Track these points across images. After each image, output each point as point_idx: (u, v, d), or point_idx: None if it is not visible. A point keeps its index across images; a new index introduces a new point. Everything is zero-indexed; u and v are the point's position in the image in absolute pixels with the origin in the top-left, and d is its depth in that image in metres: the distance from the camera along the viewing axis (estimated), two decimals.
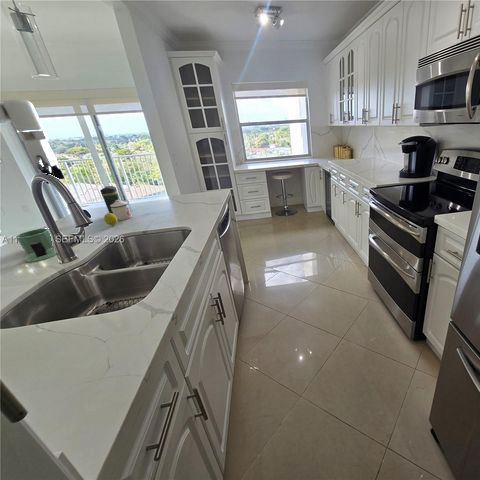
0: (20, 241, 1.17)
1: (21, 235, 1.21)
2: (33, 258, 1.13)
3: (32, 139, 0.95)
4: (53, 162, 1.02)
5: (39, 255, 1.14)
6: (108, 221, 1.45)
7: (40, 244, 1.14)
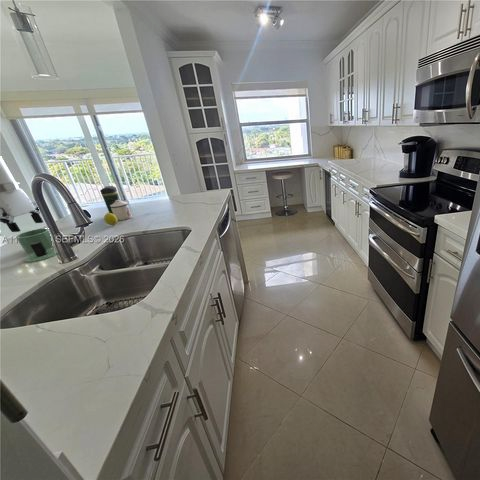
0: (20, 241, 1.17)
1: (21, 235, 1.21)
2: (33, 258, 1.13)
3: None
4: (21, 211, 1.06)
5: (39, 255, 1.14)
6: (108, 221, 1.45)
7: (40, 244, 1.14)
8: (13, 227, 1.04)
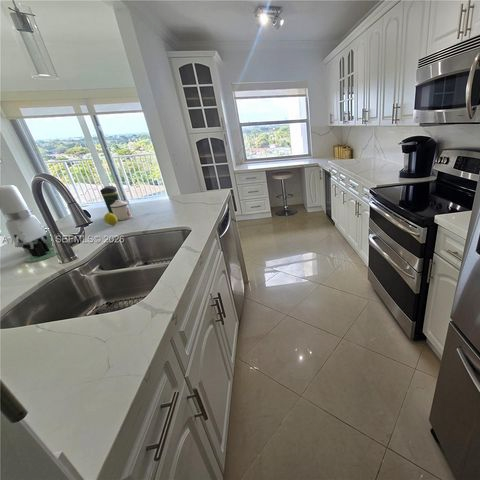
0: None
1: None
2: (33, 258, 1.13)
3: (11, 220, 1.05)
4: (33, 237, 1.11)
5: None
6: (108, 221, 1.45)
7: (40, 244, 1.14)
8: (34, 252, 1.12)
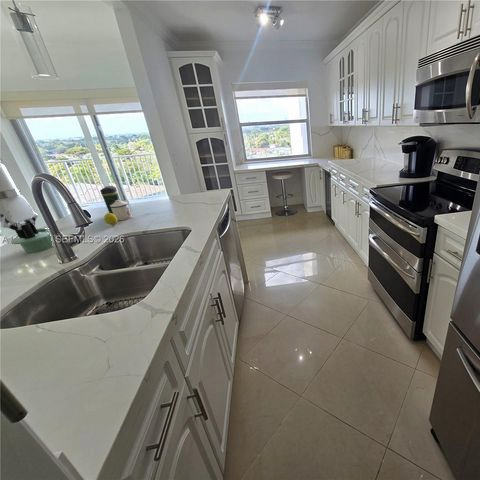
0: None
1: None
2: (20, 240, 1.09)
3: None
4: (21, 218, 1.07)
5: None
6: (108, 221, 1.45)
7: (28, 226, 1.10)
8: (21, 234, 1.08)
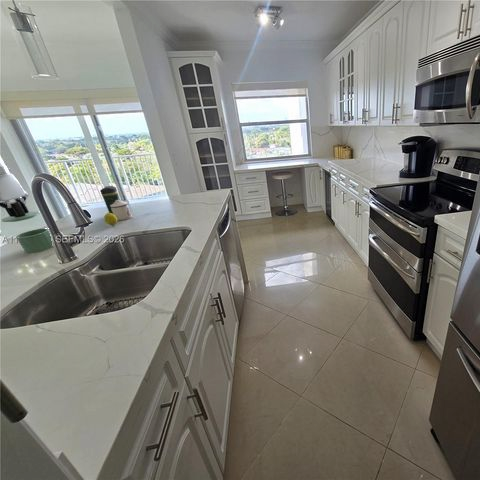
0: (20, 241, 1.17)
1: (21, 235, 1.21)
2: (11, 218, 1.09)
3: None
4: (10, 196, 1.08)
5: (17, 216, 1.11)
6: (108, 221, 1.45)
7: (18, 204, 1.10)
8: (11, 212, 1.09)
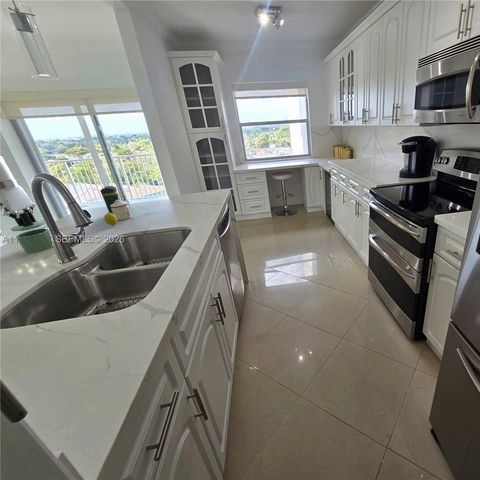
0: (20, 241, 1.17)
1: (21, 235, 1.21)
2: (20, 227, 1.17)
3: None
4: (19, 207, 1.15)
5: None
6: (108, 221, 1.45)
7: (26, 214, 1.17)
8: (20, 221, 1.16)
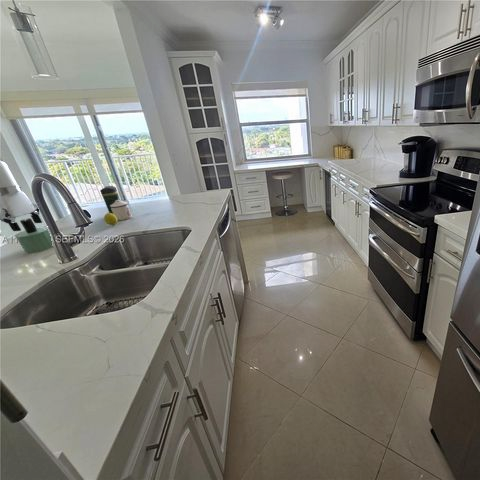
0: (20, 241, 1.17)
1: None
2: (23, 234, 1.18)
3: (0, 195, 1.09)
4: (22, 212, 1.16)
5: (29, 231, 1.19)
6: (108, 221, 1.45)
7: (30, 221, 1.19)
8: (14, 227, 1.14)
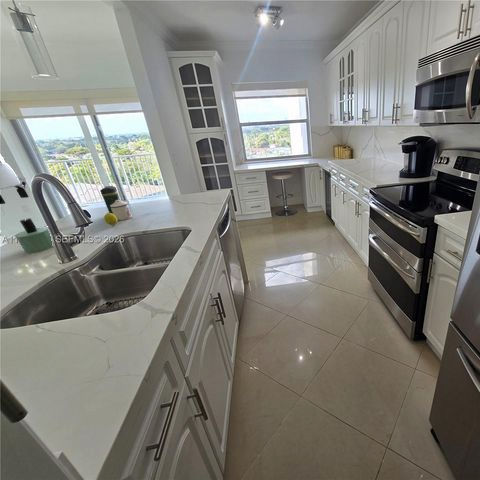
0: (20, 241, 1.17)
1: None
2: (23, 234, 1.18)
3: None
4: (6, 184, 1.10)
5: (29, 231, 1.19)
6: (108, 221, 1.45)
7: (30, 221, 1.19)
8: None
